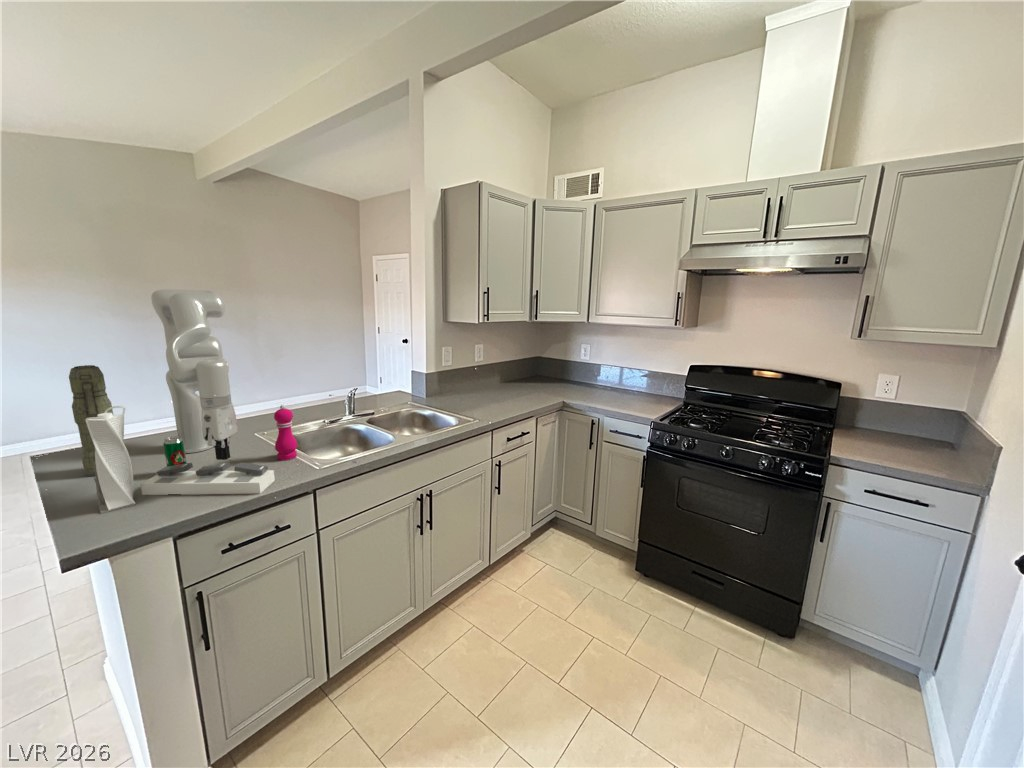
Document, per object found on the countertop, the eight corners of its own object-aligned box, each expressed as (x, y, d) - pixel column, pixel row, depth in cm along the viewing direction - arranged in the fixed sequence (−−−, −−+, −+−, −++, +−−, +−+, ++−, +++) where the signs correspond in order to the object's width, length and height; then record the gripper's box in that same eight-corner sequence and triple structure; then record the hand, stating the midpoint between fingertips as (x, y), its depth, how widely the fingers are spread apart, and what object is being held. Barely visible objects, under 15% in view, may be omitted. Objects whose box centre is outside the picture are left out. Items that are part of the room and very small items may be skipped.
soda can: (171, 470, 136) (166, 436, 133) (190, 468, 137) (185, 435, 135) (165, 476, 131) (159, 441, 129) (184, 474, 133) (179, 440, 130)
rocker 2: (234, 472, 125) (234, 466, 125) (240, 467, 128) (241, 462, 128) (261, 476, 126) (262, 470, 126) (267, 471, 130) (267, 465, 129)
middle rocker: (197, 477, 124) (195, 471, 124) (204, 472, 128) (203, 466, 127) (224, 472, 125) (222, 466, 124) (230, 467, 128) (229, 462, 128)
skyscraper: (138, 494, 119) (122, 402, 114) (143, 504, 114) (126, 408, 108) (98, 504, 113) (79, 408, 107) (101, 515, 108) (81, 414, 102)
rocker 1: (158, 477, 123) (156, 471, 123) (167, 472, 127) (165, 466, 126) (185, 473, 124) (183, 467, 123) (193, 468, 127) (191, 462, 127)
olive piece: (88, 480, 127) (66, 370, 120) (82, 470, 134) (61, 365, 127) (126, 471, 134) (107, 367, 127) (119, 462, 141) (101, 362, 134)
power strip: (142, 494, 119) (140, 483, 118) (165, 481, 128) (163, 470, 127) (260, 493, 122) (259, 482, 122) (274, 480, 131) (273, 469, 130)
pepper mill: (293, 452, 155) (288, 401, 150) (301, 457, 150) (297, 404, 146) (272, 457, 149) (267, 404, 145) (281, 462, 145) (275, 408, 140)
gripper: (213, 407, 115) (221, 468, 119) (243, 395, 129) (249, 449, 133) (185, 407, 114) (194, 468, 118) (218, 395, 129) (225, 450, 132)
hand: (223, 458), depth 125 cm, fingers closed
